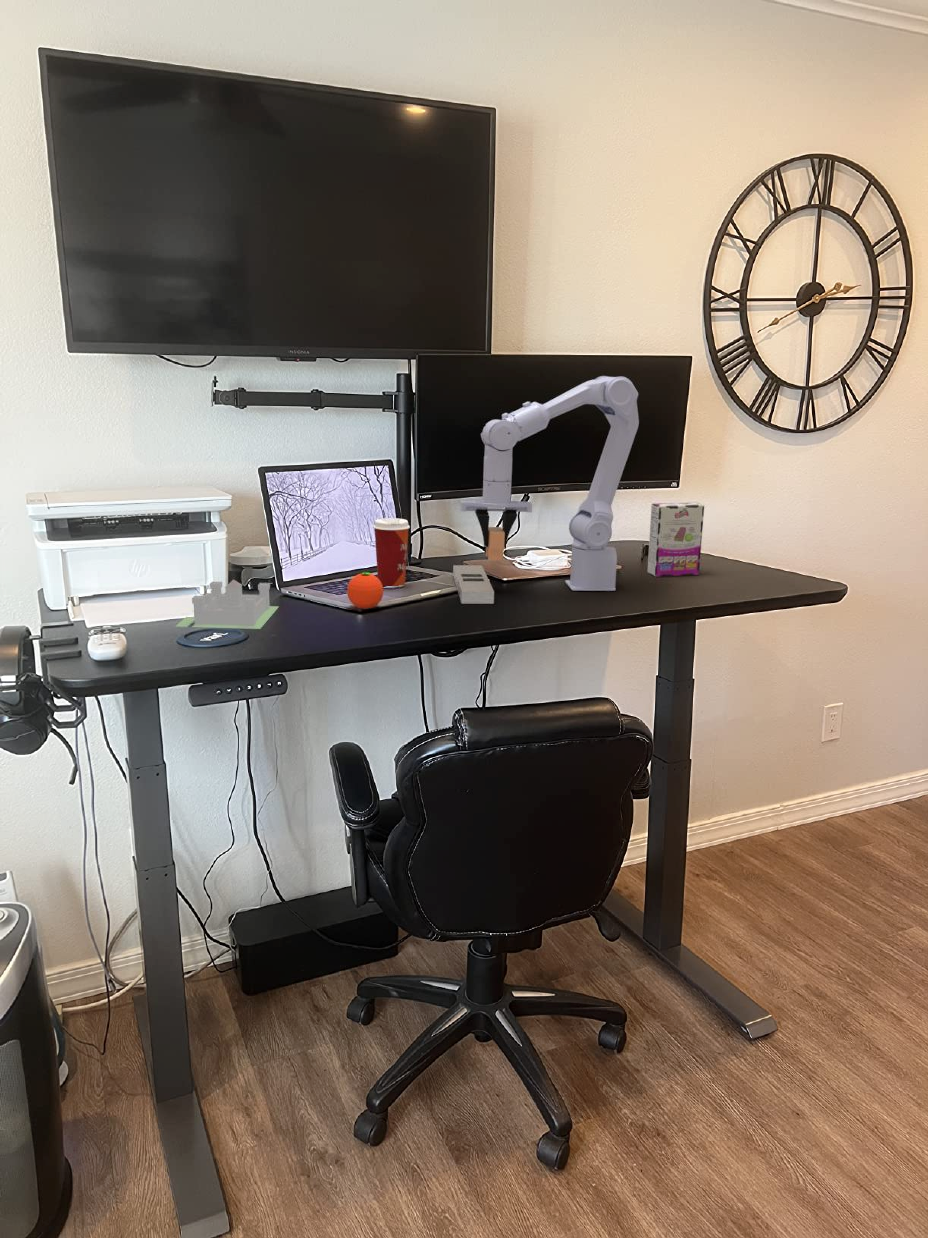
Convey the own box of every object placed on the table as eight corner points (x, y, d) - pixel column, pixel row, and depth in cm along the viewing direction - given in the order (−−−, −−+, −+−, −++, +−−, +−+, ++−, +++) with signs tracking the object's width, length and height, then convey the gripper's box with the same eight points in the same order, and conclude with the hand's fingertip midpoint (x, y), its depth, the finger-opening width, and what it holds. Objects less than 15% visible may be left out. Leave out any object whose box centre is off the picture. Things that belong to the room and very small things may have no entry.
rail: (481, 576, 201) (481, 565, 200) (493, 603, 178) (494, 591, 177) (453, 576, 200) (453, 565, 199) (461, 603, 177) (461, 591, 176)
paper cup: (412, 589, 188) (413, 523, 184) (376, 590, 186) (375, 523, 182) (406, 580, 195) (406, 517, 191) (370, 582, 193) (370, 517, 189)
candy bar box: (689, 571, 211) (695, 501, 206) (699, 575, 206) (706, 504, 202) (645, 572, 208) (650, 502, 204) (654, 577, 204) (660, 505, 199)
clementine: (351, 601, 177) (351, 566, 175) (386, 603, 176) (386, 568, 174) (344, 612, 169) (343, 575, 167) (380, 613, 169) (380, 577, 167)
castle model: (260, 631, 158) (258, 590, 156) (175, 629, 158) (172, 588, 156) (278, 609, 172) (277, 571, 170) (201, 607, 172) (198, 569, 170)
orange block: (499, 555, 189) (500, 527, 188) (503, 561, 183) (504, 532, 181) (485, 554, 189) (486, 526, 187) (488, 561, 183) (490, 532, 181)
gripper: (529, 478, 186) (526, 542, 190) (460, 477, 185) (458, 541, 188) (535, 482, 179) (531, 549, 183) (463, 481, 178) (461, 548, 182)
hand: (494, 546), depth 185 cm, fingers closed on orange block, 3 cm apart
